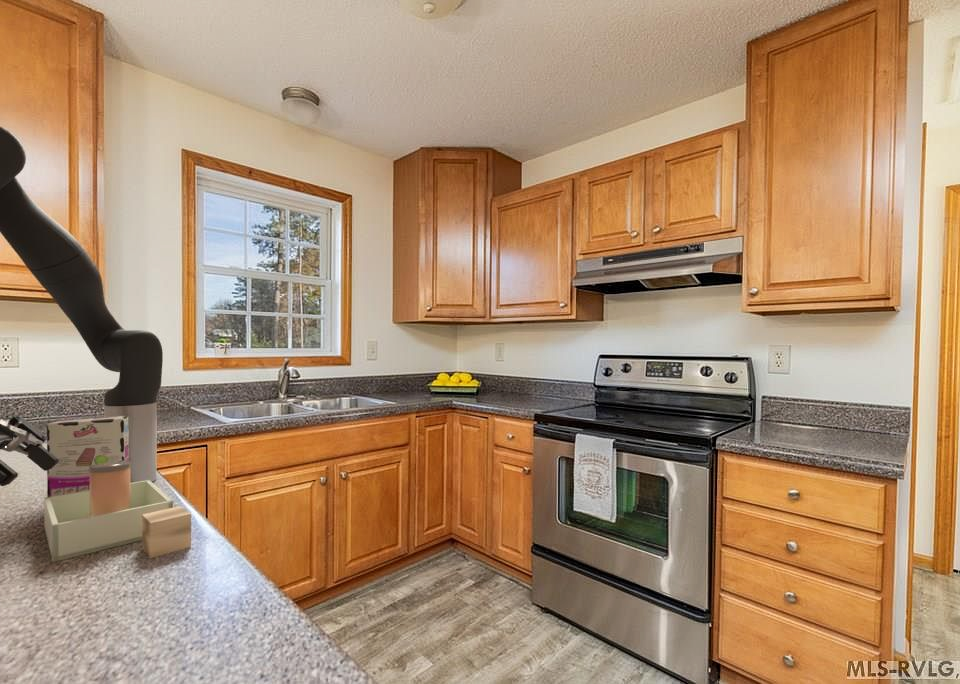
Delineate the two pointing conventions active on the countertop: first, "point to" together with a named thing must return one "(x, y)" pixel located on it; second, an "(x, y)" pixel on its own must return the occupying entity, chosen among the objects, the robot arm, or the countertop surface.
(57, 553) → the tote
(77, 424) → the candy bar box
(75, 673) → the countertop surface
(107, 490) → the spice jar
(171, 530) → the maple block
